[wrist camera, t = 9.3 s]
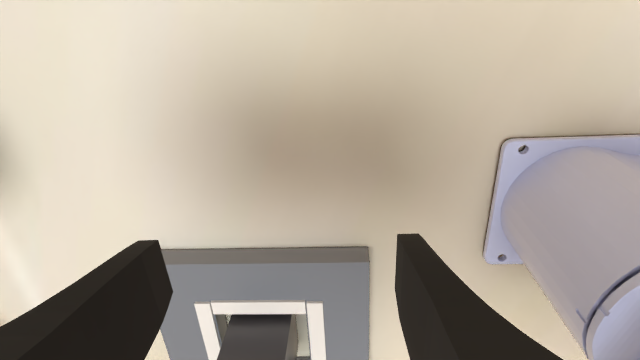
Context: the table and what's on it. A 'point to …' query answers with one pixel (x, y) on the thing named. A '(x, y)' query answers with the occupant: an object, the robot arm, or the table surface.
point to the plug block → (260, 337)
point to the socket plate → (268, 297)
